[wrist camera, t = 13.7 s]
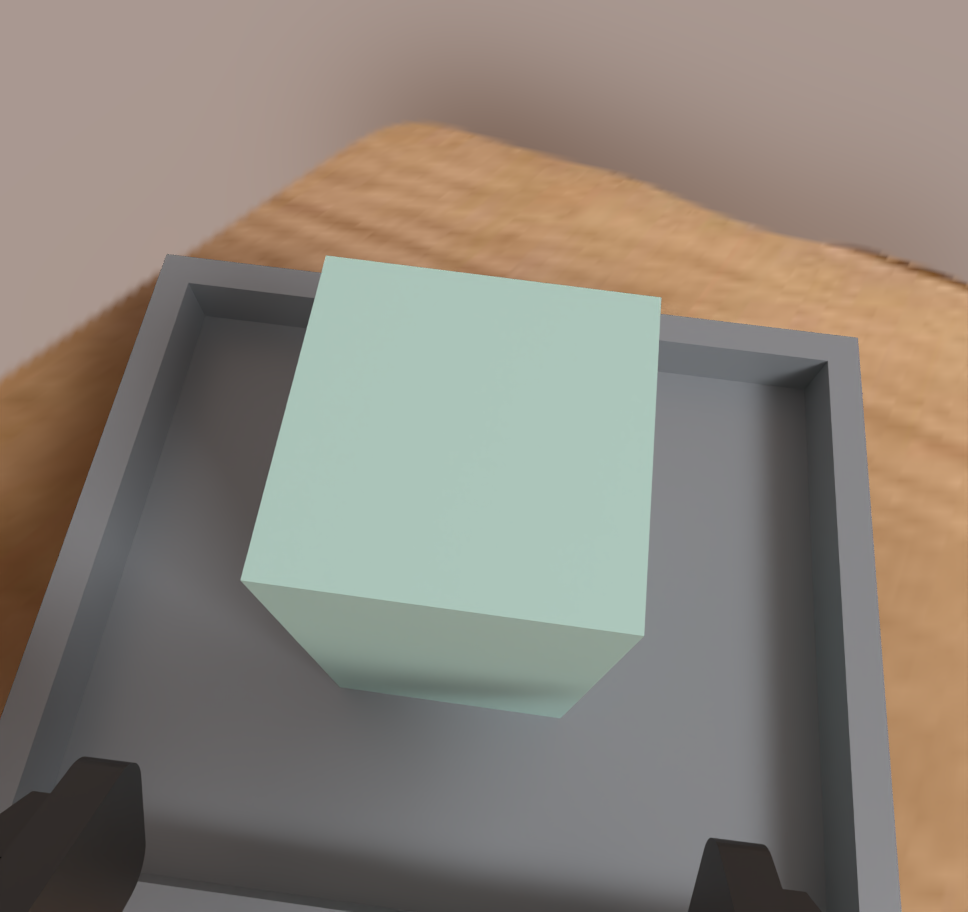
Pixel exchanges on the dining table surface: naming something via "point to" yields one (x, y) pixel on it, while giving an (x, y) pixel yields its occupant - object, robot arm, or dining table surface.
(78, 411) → the dining table surface
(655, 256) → the dining table surface
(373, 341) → the sage part block
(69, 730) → the grey shallow tray
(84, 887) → the robot arm
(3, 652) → the dining table surface
